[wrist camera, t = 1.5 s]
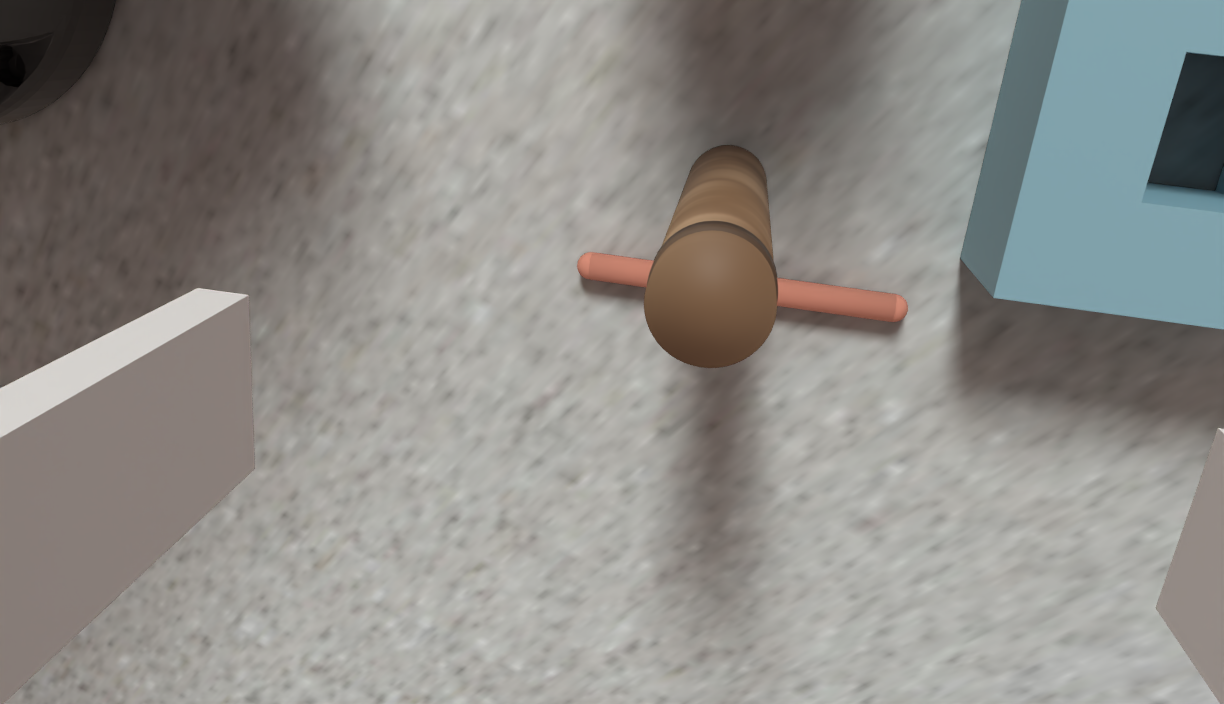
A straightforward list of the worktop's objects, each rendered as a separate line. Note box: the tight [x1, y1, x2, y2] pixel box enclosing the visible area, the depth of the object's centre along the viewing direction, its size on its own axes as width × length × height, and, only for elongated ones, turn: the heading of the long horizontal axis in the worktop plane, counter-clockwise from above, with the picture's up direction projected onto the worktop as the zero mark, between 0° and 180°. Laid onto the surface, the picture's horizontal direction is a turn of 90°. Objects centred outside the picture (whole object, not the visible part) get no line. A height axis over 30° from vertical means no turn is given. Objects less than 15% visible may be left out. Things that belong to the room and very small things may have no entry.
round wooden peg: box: [644, 145, 778, 368], centre depth 27 cm, size 3×3×15 cm
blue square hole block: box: [960, 0, 1224, 329], centre depth 29 cm, size 11×11×5 cm
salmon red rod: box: [577, 252, 908, 322], centre depth 35 cm, size 12×1×1 cm, turn 84°
